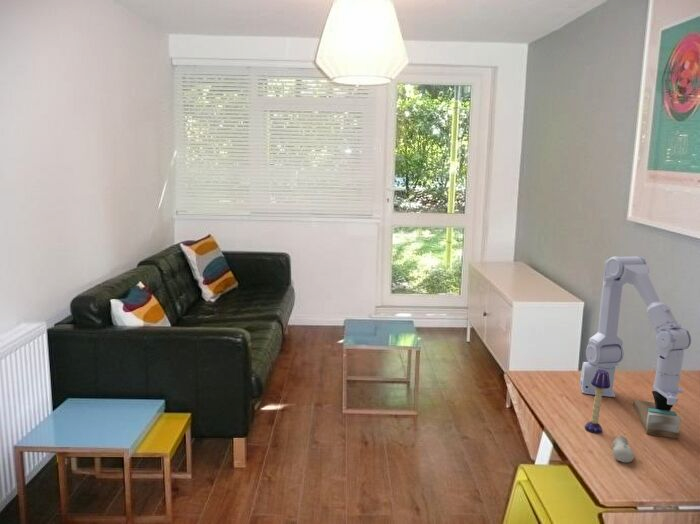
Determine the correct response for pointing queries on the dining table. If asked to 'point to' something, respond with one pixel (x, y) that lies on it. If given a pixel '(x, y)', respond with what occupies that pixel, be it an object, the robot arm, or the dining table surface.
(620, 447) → the pale two-lobed sculpture
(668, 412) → the sliding jaw
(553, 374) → the dining table surface
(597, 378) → the toy lamp
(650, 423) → the clamp board
